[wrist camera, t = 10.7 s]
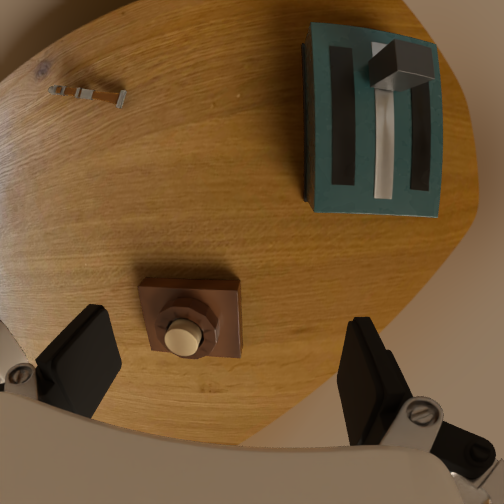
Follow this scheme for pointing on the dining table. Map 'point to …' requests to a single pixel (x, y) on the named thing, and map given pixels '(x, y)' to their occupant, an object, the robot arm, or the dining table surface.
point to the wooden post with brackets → (89, 94)
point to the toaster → (367, 129)
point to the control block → (194, 313)
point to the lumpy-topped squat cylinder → (9, 352)
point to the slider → (401, 66)
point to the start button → (183, 337)
